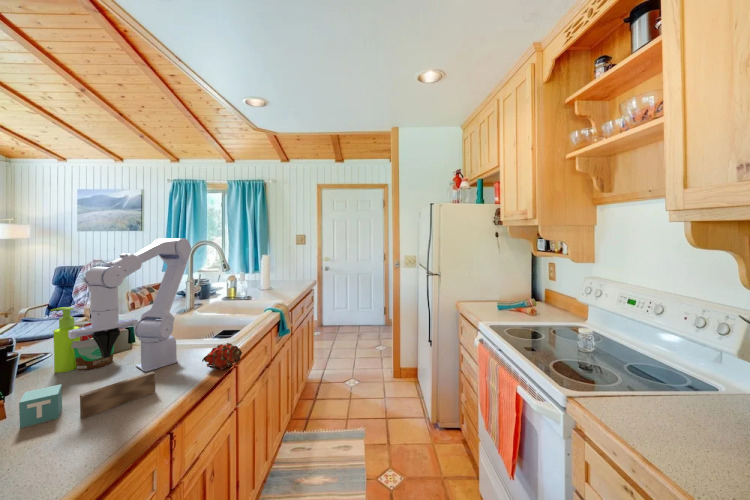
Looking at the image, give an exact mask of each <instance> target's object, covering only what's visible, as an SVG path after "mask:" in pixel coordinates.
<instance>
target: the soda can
mask: <svg viewBox="0 0 750 500" xmlns="http://www.w3.org/2000/svg"><path fill="white" fill-rule="evenodd" d="M90 325H91V320H80V321H79V320H78V321H74V326H78V327H80V328H82V327H86V326H90ZM89 338H92V336H91V335H86V336H81V337H80V341H84V340H87V339H89Z"/></svg>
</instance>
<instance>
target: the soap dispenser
mask: <svg viewBox="0 0 750 500" xmlns="http://www.w3.org/2000/svg"><path fill="white" fill-rule="evenodd" d="M72 310H75V308H74V307H73V306H71V307H70V306H62V307H55V308H52V309H50V311H51V312H53V311H62V317H60V318H59V319H58V328H56V329H54V330H53V355H54V356H53V357H54V358H53V361H54V363H53V364H54V366H53V367H54V373H57V374H58V373H60V374H61V373H67V372H72V371H75V370H77V366H76V359H75V353H74V348H71V346H72V343H73V341H80V337H76V338H74V339H70V338H69V336H68V331H69V330H74V329H78V328H80V327H78V326H74V322H75V317H74V316H72V315H71V311H72Z"/></svg>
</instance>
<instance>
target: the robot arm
mask: <svg viewBox="0 0 750 500" xmlns="http://www.w3.org/2000/svg"><path fill="white" fill-rule="evenodd" d="M192 250H193V248H192V246H191V243H190V241H189V240H188V239H187V238H185V237H184V238H183V237H182V238H177V237H176V238H170V237H167V238H166V237H159V238H157V239H155V240H153V241H152V243H151V244H149V245H147V246H145V247H143V248H141V249H140V250H138V251H136V252H135V253H121V254H119V257H117V258H115V259H114V260H111V261H106V262H104V265H102V266H95V267H92V268H90V269H89V270H88V271H87V273H86V274H85V277H83V282H84V284H85V285H86V286H87V287H88V292H89V293H90V321H91V325H90V326H86V327H82V328H78V329H74V330H69V331H68V336H69V338H70V339H74V338H76V337H81V336H86V335H91V336H92V337H93V339H94V340H95V341H96V343H97V345H98V347H99V349H100V352H101V355H102V357H103V358H107V357H110V356H111V352H112V348H113V346H114V347H115V343H116V341H117V339H118V338H119V336H120V335H121V330H119V329H125V328H129V327H134V328H133V333H134V336H135V337H137V338H138V342H139V341H140V363H137V364H135V367H136V368H138V369H140V370H141V371H143V372H144V373H149V372H152V371H153V370H156V369H160V368H163V367H166V366H169V365H173V364H176V363H178V360H177V359H178V357H177V355H178V354H177V340H176V338H175V336H174V335H172V333H173V331H174V324H175V323H174V322H175V317H174V315H173V314H172V313H171V312H170V311H171V308H172V306H173V304H174V300H175V298H176V294H177V292H178V290H179V288H180V283H181V282H182V279H183V276H184V273H185V270H186V268H187V265H188V260H189V257H190V255H191V253H192ZM155 257H159V258H160V259H161V260H162V262H163V263H165V264H166V265H167V267H166V269H165V272H164V275H163V277H162V280H161V282H160V285H159V288H158V290H157V292H156V294H155V295H156V296H155V297H154V300H153V303H152V305H151V308H150V309H149V310H147V311H145V312H143V313H142V314H141V317H140V319H139V318H136V317H135V318H134V317H133V318H129V319H121V320H120V319H119V286H121V285H122V283H123V281H124V279H126V278H127V277H128V276H130V275H131V274H133V273H135V272H136V271H138V270H140V269H141V268H142V266H143V265H142V264H144V263H146V262H148V261H149V260H151V259H153V258H155Z"/></svg>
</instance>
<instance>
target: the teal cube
mask: <svg viewBox="0 0 750 500" xmlns="http://www.w3.org/2000/svg"><path fill="white" fill-rule="evenodd" d="M62 392H63V384H62V383H61V384H60V383H59V384H56V385H52V386H47V387H43V388H37V389H32V390H28V391H25V392H24V394H23V396H22V397H21V399H20V400H19V402H18V409H19V429H23V428H26V427H27V428H28V427H30V426H34V425H39V424H41V423H46V422H49V421H53V420H57V419H59V418H60V416H61V415H60V414H61V412H62V409H63V393H62Z"/></svg>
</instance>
